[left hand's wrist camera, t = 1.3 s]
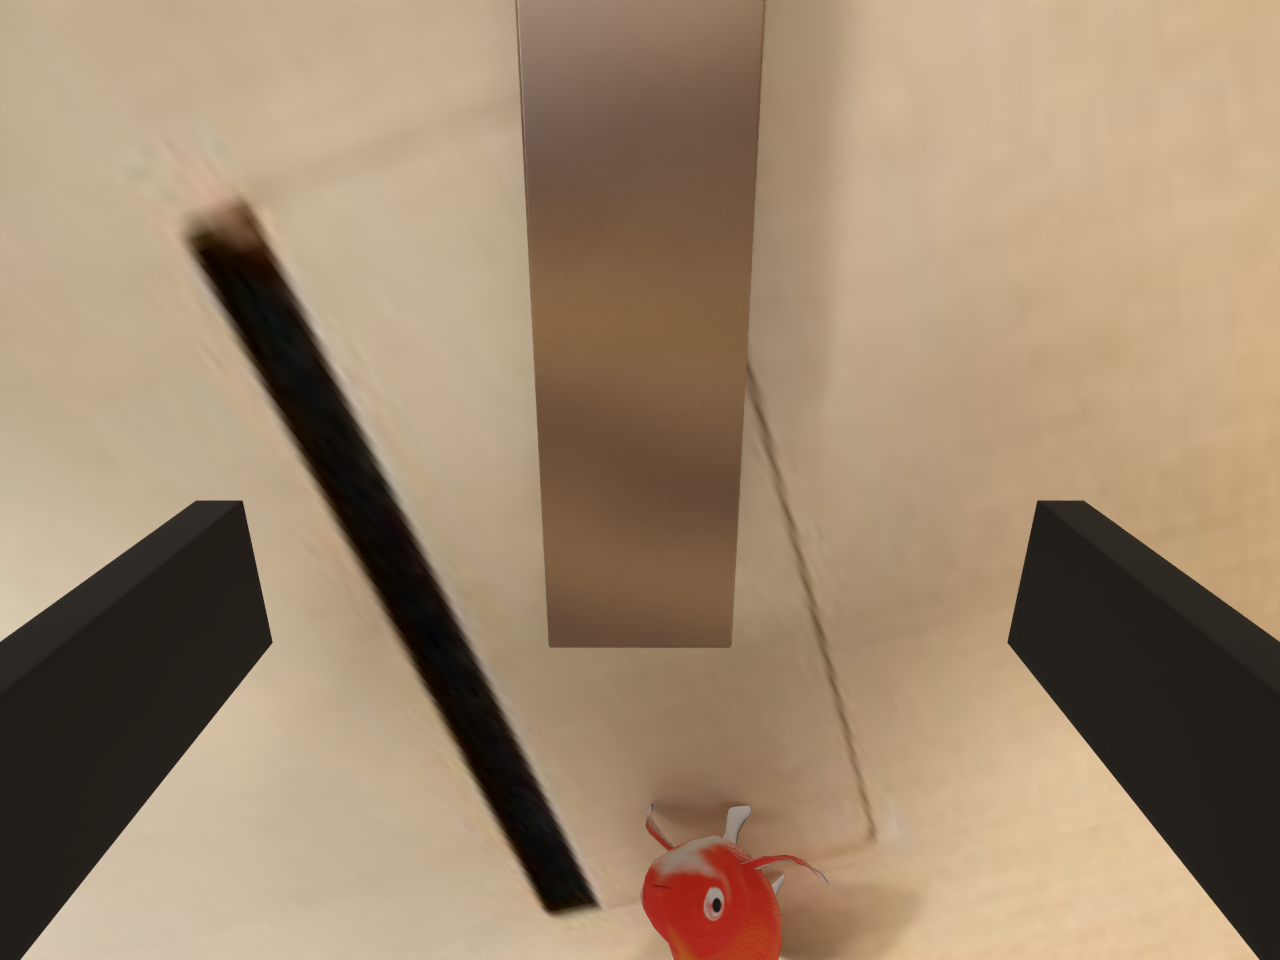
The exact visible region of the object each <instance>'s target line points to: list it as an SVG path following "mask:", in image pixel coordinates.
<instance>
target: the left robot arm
mask: <svg viewBox="0 0 1280 960" xmlns="http://www.w3.org/2000/svg"><path fill="white" fill-rule="evenodd" d="M272 643H273V642H272V637H271V633H270V628H269V623H268V618H267V614H266V609H265V604H264V600H263V595H262V590H261V585H260V581H259V576H258V571H257V566H256V562H255V557H254V552H253V548H252V543H251V538H250V533H249V529H248V524H247V519H246V515H245V510H244V505H243V501H195V502H194V503H192V504H191V505H189V506H188V507H187V508H185V509H184V510H183V511H181V512H180V513H178V514H177V515H176V516H174V517H173V518H171V519H170V520H169V521H167V522H166V523H165V524H163V525H162V526H160V527H159V528H158V529H156V530H155V531H153V532H152V533H151V534H149V535H148V536H146V537H145V538H144V539H142V540H141V541H140V542H138V543H137V544H135V545H134V546H133V547H131V548H130V549H128V550H127V551H126V552H124V553H123V554H122V555H120V556H119V557H117V558H116V559H115V560H113V561H112V562H110V563H109V564H108V565H106V566H105V567H103V568H102V569H101V570H99V571H98V572H97V573H95V574H94V575H92V576H91V577H90V578H88V579H87V580H85V581H84V582H83V583H81V584H80V585H79V586H77V587H76V588H74V589H73V590H72V591H70V592H69V593H67V594H66V595H65V596H63V597H62V598H60V599H59V600H58V601H56V602H55V603H54V604H52V605H51V606H49V607H48V608H47V609H45V610H44V611H42V612H41V613H40V614H38V615H37V616H36V617H34V618H33V619H31V620H30V621H29V622H27V623H26V624H24V625H23V626H22V627H20V628H19V629H18V630H16V631H15V632H13V633H12V634H11V635H9V636H8V637H6V638H5V639H4V640H2V641H1V642H0V960H21V958H22V957H23V956H24V954H25V953H26V952H27V951H28V949H29V948H30V947H31V946H32V944H33V943H34V942H35V941H36V939H37V938H38V937H39V936H40V934H41V933H42V932H43V931H44V929H45V928H46V927H47V926H48V924H49V923H50V922H51V921H52V919H53V918H54V917H55V916H56V914H57V913H58V912H59V910H60V909H61V908H62V907H63V905H64V904H65V903H66V902H67V900H68V899H69V898H70V897H71V895H72V894H73V893H74V892H75V890H76V889H77V888H78V887H79V885H80V884H81V883H82V882H83V880H84V879H85V878H86V877H87V875H88V874H89V873H90V872H91V870H92V869H93V868H94V866H95V865H96V864H97V863H98V861H99V860H100V859H101V858H102V856H103V855H104V854H105V853H106V851H107V850H108V849H109V848H110V846H111V845H112V844H113V843H114V841H115V840H116V839H117V838H118V836H119V835H120V834H121V833H122V831H123V830H124V829H125V827H126V826H127V825H128V824H129V822H130V821H131V820H132V819H133V817H134V816H135V815H136V814H137V812H138V811H139V810H140V809H141V807H142V806H143V805H144V804H145V802H146V801H147V800H148V799H149V797H150V796H151V795H152V794H153V792H154V791H155V790H156V789H157V787H158V786H159V785H160V783H161V782H162V781H163V780H164V778H165V777H166V776H167V775H168V773H169V772H170V771H171V770H172V768H173V767H174V766H175V765H176V763H177V762H178V761H179V760H180V758H181V757H182V756H183V755H184V753H185V752H186V751H187V750H188V748H189V747H190V746H191V745H192V743H193V742H194V741H195V739H196V738H197V737H198V736H199V734H200V733H201V732H202V731H203V729H204V728H205V727H206V726H207V724H208V723H209V722H210V721H211V719H212V718H213V717H214V716H215V714H216V713H217V712H218V711H219V709H220V708H221V707H222V706H223V704H224V703H225V702H226V701H227V699H228V698H229V697H230V695H231V694H232V693H233V692H234V690H235V689H236V688H237V687H238V685H239V684H240V683H241V682H242V680H243V679H244V678H245V677H246V675H247V674H248V673H249V672H250V670H251V669H252V668H253V667H254V665H255V664H256V663H257V662H258V660H259V659H260V658H261V656H262V655H263V654H264V653H265V651H266V650H267V649H268V648H269V646H270V645H271V644H272ZM1007 643H1008V644H1009V645H1010V646H1011V648H1012V649H1013V650H1014V651H1015V653H1016V654H1017V655H1018V657H1019V658H1020V659H1021V660H1022V662H1023V663H1024V664H1025V665H1026V667H1027V668H1028V669H1029V670H1030V672H1031V673H1032V674H1033V675H1034V677H1035V678H1036V679H1037V680H1038V682H1039V683H1040V684H1041V685H1042V687H1043V688H1044V689H1045V690H1046V692H1047V693H1048V694H1049V695H1050V697H1051V698H1052V699H1053V701H1054V702H1055V703H1056V704H1057V706H1058V707H1059V708H1060V709H1061V711H1062V712H1063V713H1064V714H1065V716H1066V717H1067V718H1068V719H1069V721H1070V722H1071V723H1072V724H1073V726H1074V727H1075V728H1076V729H1077V731H1078V732H1079V733H1080V734H1081V736H1082V737H1083V738H1084V739H1085V741H1086V742H1087V743H1088V745H1089V746H1090V747H1091V748H1092V750H1093V751H1094V752H1095V753H1096V755H1097V756H1098V757H1099V758H1100V760H1101V761H1102V762H1103V763H1104V765H1105V766H1106V767H1107V768H1108V770H1109V771H1110V772H1111V773H1112V775H1113V776H1114V777H1115V778H1116V780H1117V781H1118V782H1119V783H1120V785H1121V786H1122V787H1123V789H1124V790H1125V791H1126V792H1127V794H1128V795H1129V796H1130V797H1131V799H1132V800H1133V801H1134V802H1135V804H1136V805H1137V806H1138V807H1139V809H1140V810H1141V811H1142V812H1143V814H1144V815H1145V816H1146V817H1147V819H1148V820H1149V821H1150V822H1151V824H1152V825H1153V826H1154V828H1155V829H1156V830H1157V831H1158V833H1159V834H1160V835H1161V836H1162V838H1163V839H1164V840H1165V841H1166V843H1167V844H1168V845H1169V846H1170V848H1171V849H1172V850H1173V851H1174V853H1175V854H1176V855H1177V856H1178V858H1179V859H1180V860H1181V861H1182V863H1183V864H1184V865H1185V866H1186V868H1187V869H1188V870H1189V872H1190V873H1191V874H1192V875H1193V877H1194V878H1195V879H1196V880H1197V882H1198V883H1199V884H1200V885H1201V887H1202V888H1203V889H1204V890H1205V892H1206V893H1207V894H1208V895H1209V897H1210V898H1211V899H1212V900H1213V902H1214V903H1215V904H1216V905H1217V907H1218V908H1219V909H1220V910H1221V912H1222V913H1223V914H1224V916H1225V917H1226V918H1227V919H1228V921H1229V922H1230V923H1231V924H1232V926H1233V927H1234V928H1235V929H1236V931H1237V932H1238V933H1239V934H1240V936H1241V937H1242V938H1243V939H1244V941H1245V942H1246V943H1247V944H1248V946H1249V947H1250V948H1251V949H1252V951H1253V952H1254V953H1255V954H1256V956H1257V957H1258V958H1259V960H1280V642H1279V641H1278V640H1276V639H1275V638H1274V637H1272V636H1271V635H1269V634H1268V633H1267V632H1265V631H1264V630H1262V629H1261V628H1260V627H1258V626H1257V625H1256V624H1254V623H1253V622H1251V621H1250V620H1249V619H1247V618H1246V617H1244V616H1243V615H1242V614H1240V613H1239V612H1238V611H1236V610H1235V609H1233V608H1232V607H1231V606H1229V605H1228V604H1226V603H1225V602H1224V601H1222V600H1221V599H1220V598H1218V597H1217V596H1215V595H1214V594H1213V593H1211V592H1210V591H1208V590H1207V589H1206V588H1204V587H1203V586H1201V585H1200V584H1199V583H1197V582H1196V581H1195V580H1193V579H1192V578H1190V577H1189V576H1188V575H1186V574H1185V573H1183V572H1182V571H1181V570H1179V569H1178V568H1177V567H1175V566H1174V565H1172V564H1171V563H1170V562H1168V561H1167V560H1165V559H1164V558H1163V557H1161V556H1160V555H1158V554H1157V553H1156V552H1154V551H1153V550H1152V549H1150V548H1149V547H1147V546H1146V545H1145V544H1143V543H1142V542H1140V541H1139V540H1138V539H1136V538H1135V537H1134V536H1132V535H1131V534H1129V533H1128V532H1127V531H1125V530H1124V529H1122V528H1121V527H1120V526H1118V525H1117V524H1116V523H1114V522H1113V521H1111V520H1110V519H1109V518H1107V517H1106V516H1104V515H1103V514H1102V513H1100V512H1099V511H1097V510H1096V509H1095V508H1093V507H1092V506H1091V505H1089V504H1088V503H1086V502H1085V501H1037V505H1036V510H1035V514H1034V519H1033V524H1032V529H1031V533H1030V538H1029V543H1028V548H1027V552H1026V557H1025V562H1024V566H1023V571H1022V576H1021V581H1020V585H1019V590H1018V595H1017V600H1016V604H1015V609H1014V614H1013V618H1012V623H1011V628H1010V633H1009V637H1008V642H1007Z"/></svg>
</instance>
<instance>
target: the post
mask: <svg viewBox="0 0 1280 960" xmlns="http://www.w3.org/2000/svg"><path fill="white" fill-rule="evenodd" d="M765 5H766V0H515V7H516V26H517V45H518V64H519V83H520V102H521V122H522V141H523V160H524V179H525V198H526V217H527V236H528V256H529V275H530V294H531V313H532V332H533V351H534V370H535V390H536V409H537V428H538V447H539V466H540V485H541V504H542V524H543V543H544V562H545V581H546V600H547V619H548V638H549V646H550V647H551V648H729V647H731V645H732V626H733V607H734V588H735V569H736V550H737V532H738V513H739V494H740V475H741V456H742V438H743V419H744V400H745V381H746V362H747V343H748V325H749V306H750V287H751V268H752V249H753V231H754V212H755V193H756V174H757V155H758V136H759V118H760V99H761V80H762V61H763V42H764V24H765Z"/></svg>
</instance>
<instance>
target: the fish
mask: <svg viewBox="0 0 1280 960" xmlns="http://www.w3.org/2000/svg"><path fill="white" fill-rule="evenodd" d="M652 808H653V804H652V805H651V806H650V807H649V808H648V810H647V821H646V828H647V830H648V831H649V833H650V834H651V835H652V836H653V837H654V838H655V839H656V840H657V841H658V842H659V843H660V844H661V845H662V846H664V847H665V848H666V849H667V850H669V851H668V852H667V853H666V854H664V855H663V856H661V857H659V858H658V859H656V860H655V861H654V862H653V864H652V865H651V867H650V868H649V870H648V872H647V874H646V877H645V881H644V884H643V887H642V890H641V903H642V905H643V908H644V910H645V912H646V914H647V916H648V918H649V919H650V921H651V923H652V925H653V926H654V928H655V929H656V930H657V931H658V932H659V934H660V935H661V936H662V937H663V938H664V939H665V940H666V941H667V942H668V943H669V946H670V949H671V952H672V955H673V958H674V960H778V958H779V955H780V950H781V914H780V910H779V907H778V903H777V900H776V895H777V893H778V891H779V889H780V887H781V884H782V882H783V880H784V874H783V875H782V876H781V877H780V878H779V879H778V880H777V881H775V882H774V883H773V884H772V885H771V884H770V883H769V881H768V879H767V878H766V876H765V874H764V873H763V871H762V870H761V868H764V867H766V866H769V865H771V864H773V863H776V862H779V861H791V862H795V863H797V864H800V865H804V866H807V867H808V868H809V869H810V870H812V871H813V872H814V873H815V874H816V875H817V876H819V877H820V878H821V879H822V880H824V881H825V882H826V883H827V884H828V881H827V880H826V879H825V877H824V876H823V874H822V873H821V872H820V871H818V870H817V869H815V868H813V867H812V866H810V865H809V864H807V863H806V862H804V861H803V860H801V859H798V858H796V857H793V856H788V855H781V856H763V857H760V858H756V859H752V858H751V857H750V856H749V855H748V854H747V853H746V852H745V851H744V850H743V849H742V848H741V847H739V846H738V845H736V843H737V837H738V834H739V831H740V828H741V827H742V825H743V823H744V822H745V821H746V819H747V818H748V817H749V815H750V814H751V809H750V807H749V806H736V807H731V808H730V809H729V810H728V814H727V823H726V830H725V833H724V835H723V838H721V837H719V836H716V835H715V836H708V837H704V838H700V839H696V840H690V841H687V842H685V843H683V844H681V845H679V846H677V847H675V848H673V846H672V845H671V843H670V842H669V841H668V840H667V839H666V838H665V836H664V835H663V834H662V832H661V831H660V830H659V828H658V827H657V826H656V824H655V823H654V821H653V819H652V817H651V816H650V813H651V812H652Z"/></svg>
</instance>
